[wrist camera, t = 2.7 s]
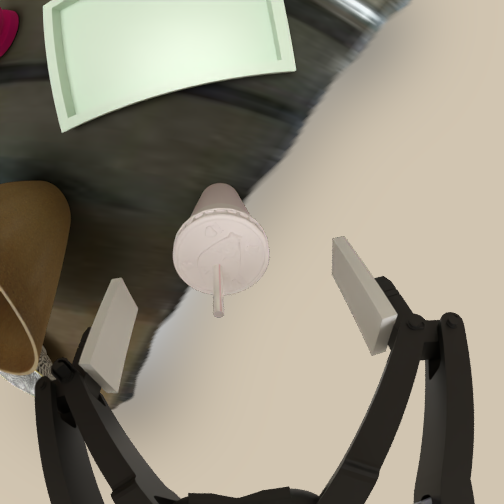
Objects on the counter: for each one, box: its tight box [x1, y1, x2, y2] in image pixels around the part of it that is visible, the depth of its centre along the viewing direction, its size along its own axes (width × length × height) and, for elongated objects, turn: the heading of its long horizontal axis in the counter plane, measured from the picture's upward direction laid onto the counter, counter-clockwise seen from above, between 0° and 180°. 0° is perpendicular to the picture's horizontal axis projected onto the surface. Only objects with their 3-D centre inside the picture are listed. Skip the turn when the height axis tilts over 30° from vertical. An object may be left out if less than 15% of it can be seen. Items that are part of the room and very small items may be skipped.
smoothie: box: [173, 183, 270, 318], centre depth 20 cm, size 6×6×14 cm
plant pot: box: [0, 181, 71, 376], centre depth 17 cm, size 15×15×16 cm
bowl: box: [0, 345, 56, 397], centre depth 32 cm, size 16×16×8 cm
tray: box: [43, 0, 296, 133], centre depth 15 cm, size 20×14×2 cm
